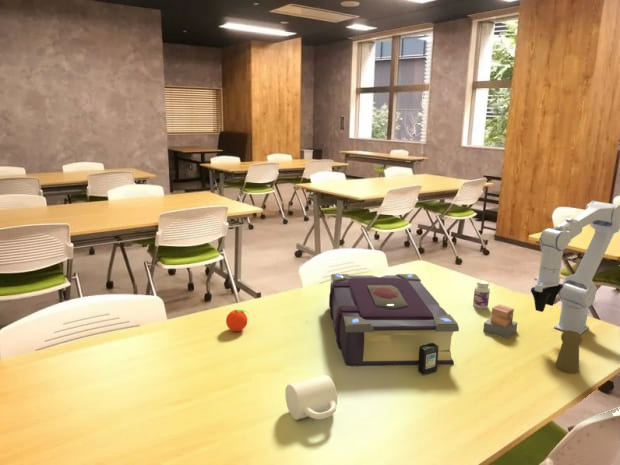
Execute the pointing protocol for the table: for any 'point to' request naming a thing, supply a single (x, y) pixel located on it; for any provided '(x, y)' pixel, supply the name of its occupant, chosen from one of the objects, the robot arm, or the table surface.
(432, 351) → the ink cartridge
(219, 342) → the table surface
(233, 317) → the clementine
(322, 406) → the mug
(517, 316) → the table surface
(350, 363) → the book
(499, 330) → the gray block
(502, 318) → the terracotta cube
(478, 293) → the pill bottle
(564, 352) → the cork
